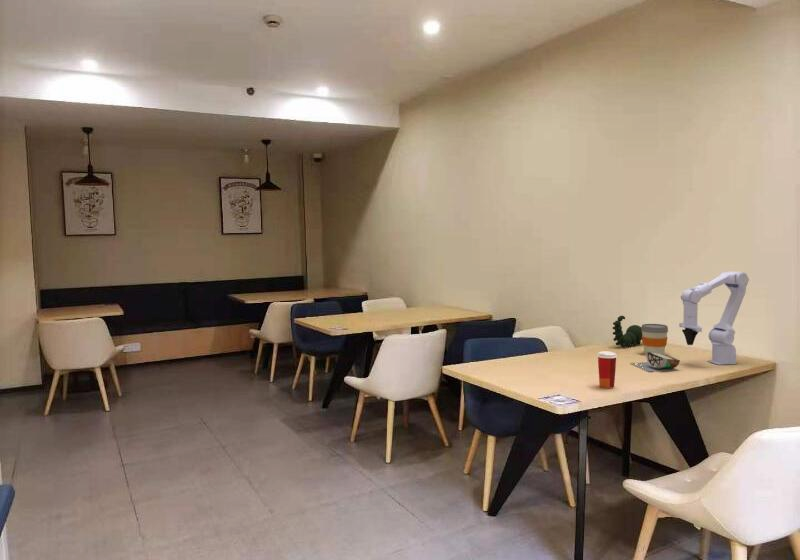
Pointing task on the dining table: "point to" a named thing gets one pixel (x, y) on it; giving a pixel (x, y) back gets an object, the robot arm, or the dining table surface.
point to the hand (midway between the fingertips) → (690, 344)
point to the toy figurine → (627, 334)
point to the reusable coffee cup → (654, 337)
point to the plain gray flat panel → (650, 368)
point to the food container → (661, 360)
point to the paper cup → (606, 368)
